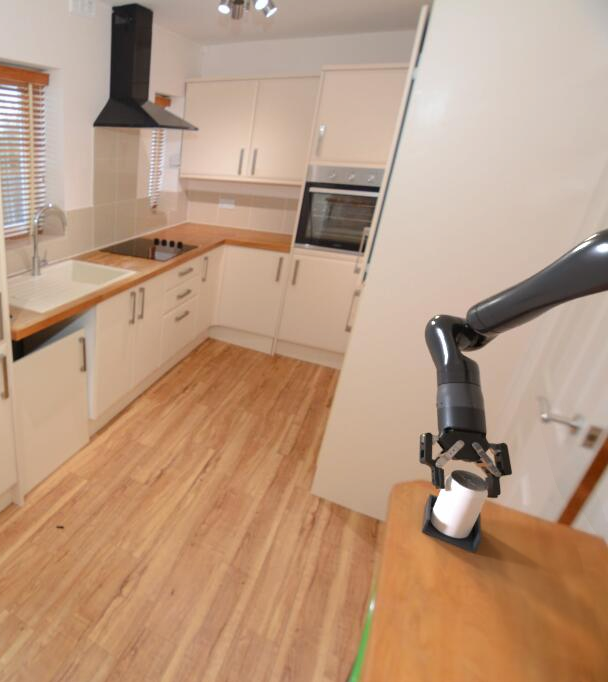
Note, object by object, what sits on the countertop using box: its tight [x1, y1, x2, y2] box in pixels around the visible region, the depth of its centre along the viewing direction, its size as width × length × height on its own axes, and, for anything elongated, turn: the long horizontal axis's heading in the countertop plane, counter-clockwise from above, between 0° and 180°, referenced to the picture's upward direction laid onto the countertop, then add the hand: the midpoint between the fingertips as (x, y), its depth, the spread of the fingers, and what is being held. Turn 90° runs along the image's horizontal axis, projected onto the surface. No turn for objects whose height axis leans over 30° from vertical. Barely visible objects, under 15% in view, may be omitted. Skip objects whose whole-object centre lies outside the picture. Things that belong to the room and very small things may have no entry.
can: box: [430, 469, 488, 538], centre depth 88 cm, size 6×6×12 cm
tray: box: [421, 493, 482, 554], centre depth 91 cm, size 10×8×4 cm
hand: (466, 493), depth 86 cm, fingers open, 8 cm apart
